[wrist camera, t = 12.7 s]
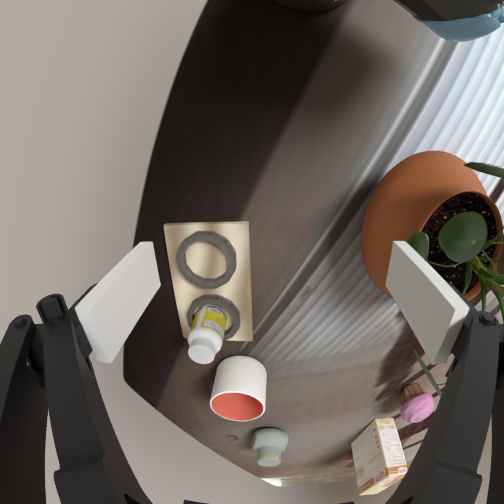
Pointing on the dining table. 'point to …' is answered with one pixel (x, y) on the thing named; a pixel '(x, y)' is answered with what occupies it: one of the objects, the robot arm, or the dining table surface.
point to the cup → (239, 389)
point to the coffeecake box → (378, 457)
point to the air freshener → (269, 445)
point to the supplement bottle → (207, 333)
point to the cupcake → (415, 403)
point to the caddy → (212, 273)
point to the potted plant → (437, 224)
